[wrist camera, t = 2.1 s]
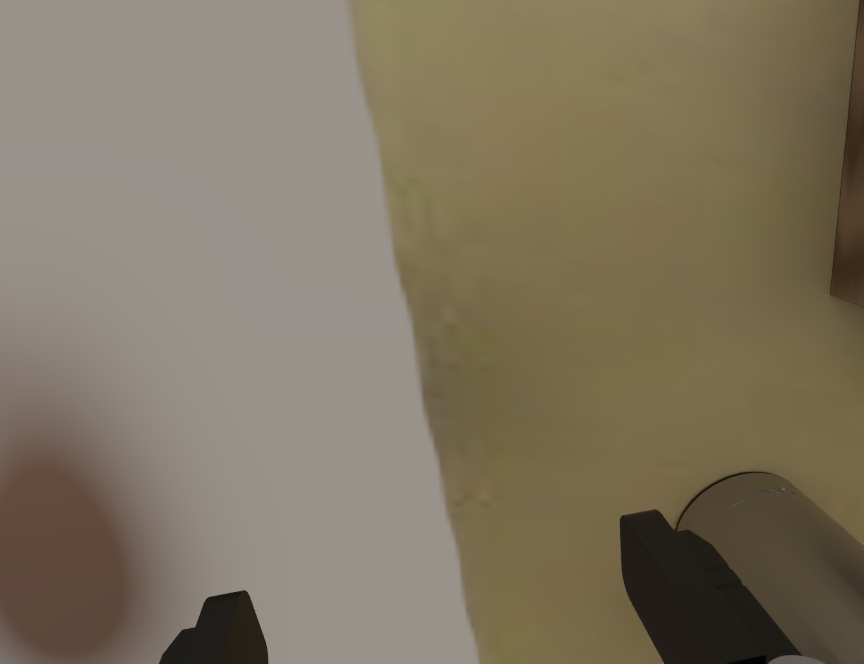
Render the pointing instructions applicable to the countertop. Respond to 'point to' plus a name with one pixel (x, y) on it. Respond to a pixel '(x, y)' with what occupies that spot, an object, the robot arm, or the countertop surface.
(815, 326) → the countertop surface
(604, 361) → the countertop surface
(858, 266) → the pedestal
